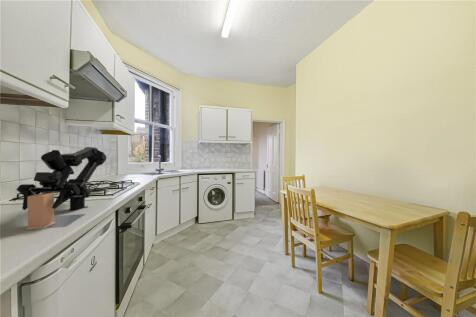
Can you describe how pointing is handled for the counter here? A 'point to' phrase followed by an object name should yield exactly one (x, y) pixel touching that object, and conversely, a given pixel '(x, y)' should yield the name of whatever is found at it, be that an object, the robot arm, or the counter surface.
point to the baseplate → (62, 221)
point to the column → (40, 210)
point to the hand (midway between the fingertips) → (38, 208)
